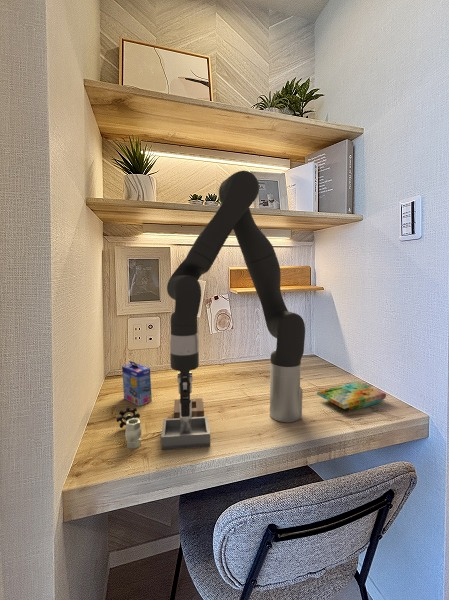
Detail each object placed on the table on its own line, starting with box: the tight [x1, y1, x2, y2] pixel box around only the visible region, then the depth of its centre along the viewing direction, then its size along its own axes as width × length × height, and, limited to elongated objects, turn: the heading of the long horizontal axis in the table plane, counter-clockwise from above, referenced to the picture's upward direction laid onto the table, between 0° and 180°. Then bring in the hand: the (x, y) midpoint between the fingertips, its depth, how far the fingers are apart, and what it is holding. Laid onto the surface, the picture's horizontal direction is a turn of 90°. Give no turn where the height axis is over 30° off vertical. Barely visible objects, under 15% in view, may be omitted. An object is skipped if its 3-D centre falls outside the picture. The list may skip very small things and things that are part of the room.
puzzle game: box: [316, 382, 387, 412], centre depth 107 cm, size 12×5×20 cm
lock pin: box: [180, 397, 193, 434], centre depth 84 cm, size 3×3×10 cm
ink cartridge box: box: [121, 360, 153, 407], centre depth 108 cm, size 10×6×14 cm, turn 51°
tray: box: [160, 415, 211, 451], centre depth 84 cm, size 13×10×4 cm
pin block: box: [173, 397, 205, 419], centre depth 96 cm, size 9×9×4 cm
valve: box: [115, 405, 142, 449], centre depth 85 cm, size 7×7×12 cm
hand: (185, 410), depth 84 cm, fingers open, 6 cm apart
